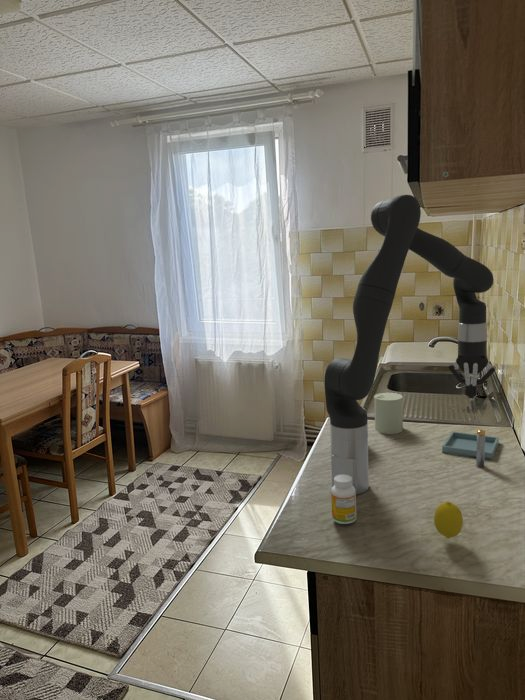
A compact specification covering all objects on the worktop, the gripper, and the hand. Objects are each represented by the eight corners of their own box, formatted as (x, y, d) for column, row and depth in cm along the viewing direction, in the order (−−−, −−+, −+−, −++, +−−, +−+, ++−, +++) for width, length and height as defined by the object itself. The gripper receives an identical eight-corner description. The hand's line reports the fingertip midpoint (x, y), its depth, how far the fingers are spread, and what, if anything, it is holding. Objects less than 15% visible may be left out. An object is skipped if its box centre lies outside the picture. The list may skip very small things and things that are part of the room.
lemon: (447, 528, 108) (447, 493, 107) (468, 540, 103) (469, 503, 102) (428, 535, 106) (428, 500, 104) (449, 548, 101) (449, 511, 99)
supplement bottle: (335, 511, 118) (333, 471, 116) (358, 514, 116) (357, 474, 114) (329, 522, 113) (328, 482, 111) (353, 526, 111) (352, 484, 109)
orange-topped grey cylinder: (483, 468, 135) (484, 432, 134) (475, 467, 137) (476, 431, 135) (484, 465, 137) (485, 430, 135) (476, 464, 138) (477, 429, 136)
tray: (491, 460, 140) (491, 453, 140) (442, 452, 147) (442, 446, 147) (498, 443, 151) (498, 437, 151) (452, 437, 158) (452, 431, 158)
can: (371, 426, 172) (370, 392, 170) (398, 424, 173) (397, 390, 171) (378, 435, 163) (378, 399, 161) (407, 433, 164) (406, 397, 162)
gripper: (444, 339, 144) (444, 398, 147) (496, 341, 137) (494, 403, 140) (450, 335, 150) (450, 392, 153) (499, 336, 143) (498, 396, 146)
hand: (471, 397), depth 147 cm, fingers closed
